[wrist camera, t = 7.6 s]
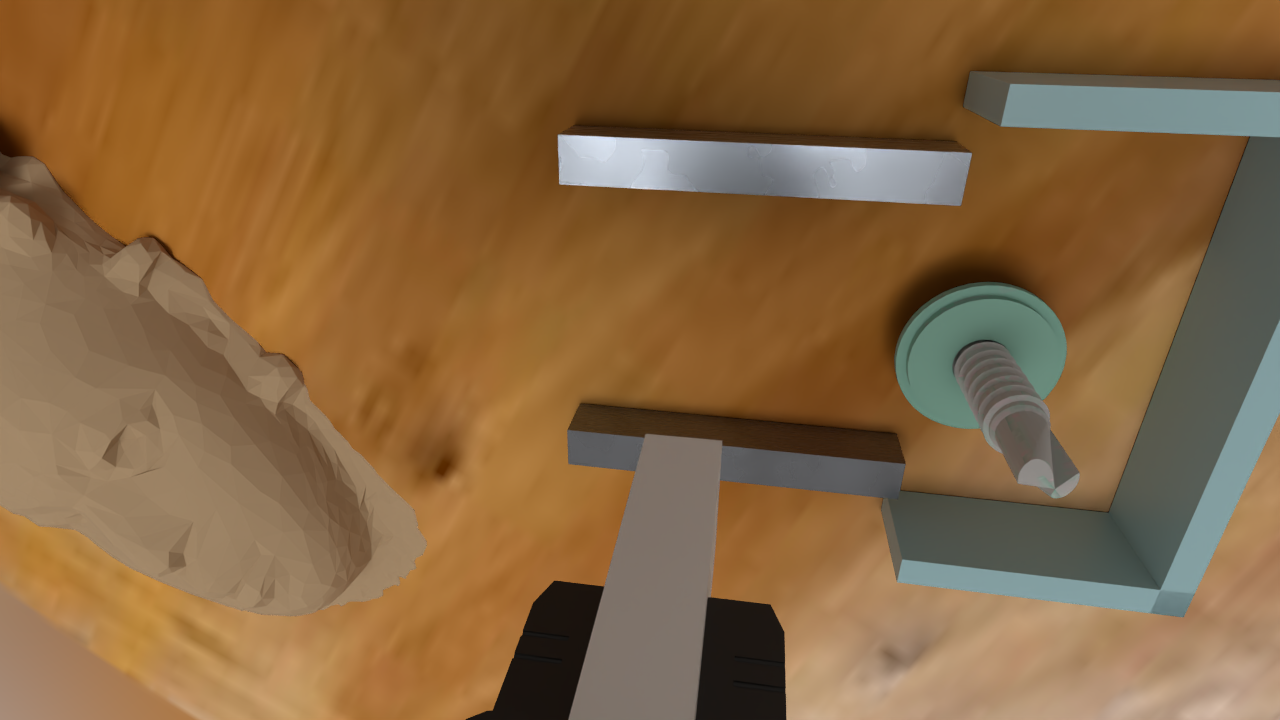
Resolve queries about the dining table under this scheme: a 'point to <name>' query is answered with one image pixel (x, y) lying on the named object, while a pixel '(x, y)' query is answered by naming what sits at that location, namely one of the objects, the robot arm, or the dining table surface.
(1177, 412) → the bracket
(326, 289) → the dining table surface
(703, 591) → the robot arm
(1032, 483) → the screw
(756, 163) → the slot
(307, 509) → the mask
